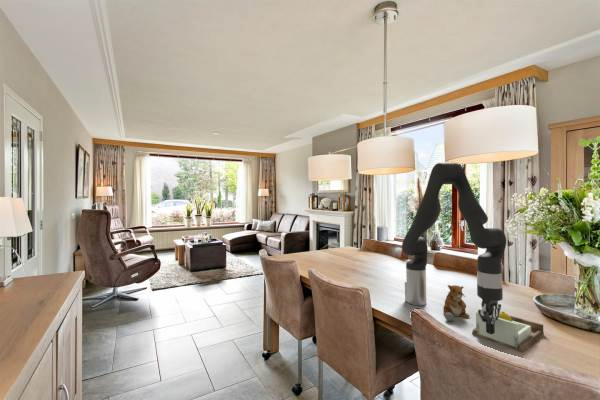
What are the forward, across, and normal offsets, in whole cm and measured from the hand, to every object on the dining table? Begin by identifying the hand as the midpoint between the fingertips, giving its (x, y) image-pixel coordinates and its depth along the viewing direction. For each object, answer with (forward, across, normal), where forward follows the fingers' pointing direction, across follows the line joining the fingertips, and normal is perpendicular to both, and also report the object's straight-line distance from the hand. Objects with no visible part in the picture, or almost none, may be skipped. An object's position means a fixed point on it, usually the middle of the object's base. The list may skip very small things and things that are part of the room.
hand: (490, 333), depth 99 cm
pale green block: (+4, -10, 0) cm, 11 cm away
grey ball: (+4, -8, -19) cm, 21 cm away
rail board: (+4, -14, 0) cm, 15 cm away
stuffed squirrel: (+5, -19, -22) cm, 30 cm away
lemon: (+3, -10, 0) cm, 11 cm away
